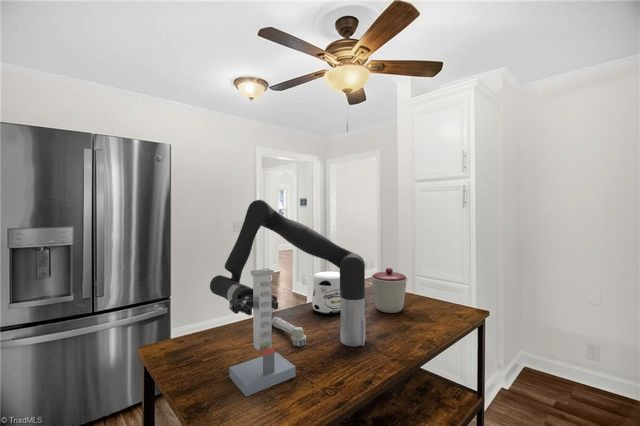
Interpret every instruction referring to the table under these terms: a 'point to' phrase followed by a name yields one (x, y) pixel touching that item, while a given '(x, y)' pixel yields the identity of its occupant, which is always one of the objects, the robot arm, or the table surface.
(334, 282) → the milk container
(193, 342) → the table surface
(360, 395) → the table surface
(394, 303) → the canister
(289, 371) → the stand base
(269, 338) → the column
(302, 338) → the toothbrush head
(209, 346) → the table surface
